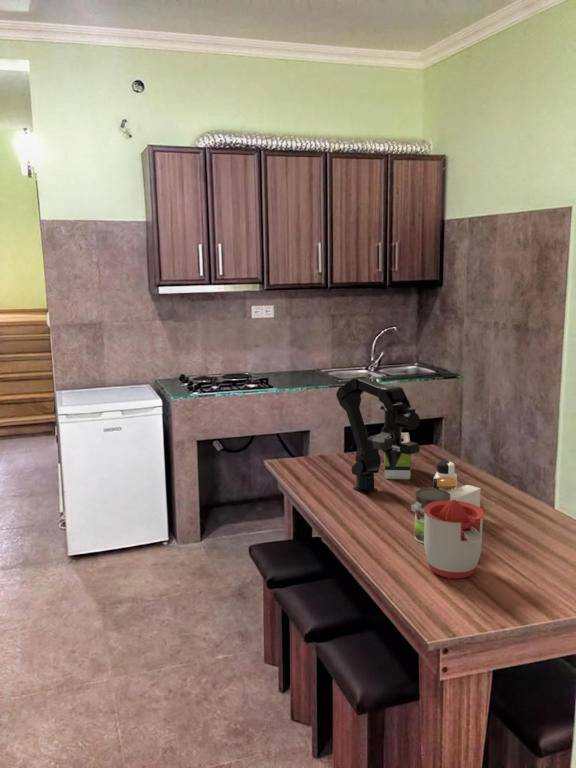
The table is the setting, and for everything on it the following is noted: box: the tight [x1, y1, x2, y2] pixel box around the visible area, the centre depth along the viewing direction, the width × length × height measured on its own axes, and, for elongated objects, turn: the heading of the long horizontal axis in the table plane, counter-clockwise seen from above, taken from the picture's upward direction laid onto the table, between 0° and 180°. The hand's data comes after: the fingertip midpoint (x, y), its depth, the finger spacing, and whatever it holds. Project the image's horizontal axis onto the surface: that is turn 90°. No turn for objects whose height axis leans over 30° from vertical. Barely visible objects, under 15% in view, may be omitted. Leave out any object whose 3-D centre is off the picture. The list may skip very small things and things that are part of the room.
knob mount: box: [410, 484, 481, 513], centre depth 219 cm, size 19×13×10 cm
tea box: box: [383, 432, 412, 480], centre depth 262 cm, size 15×10×15 cm, turn 172°
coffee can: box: [413, 487, 451, 545], centre depth 201 cm, size 10×10×14 cm
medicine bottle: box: [432, 460, 458, 490], centre depth 237 cm, size 7×7×12 cm
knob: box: [437, 477, 456, 492], centre depth 218 cm, size 6×6×10 cm
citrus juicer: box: [423, 499, 485, 580], centre depth 179 cm, size 16×17×20 cm
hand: (392, 468), depth 230 cm, fingers closed
